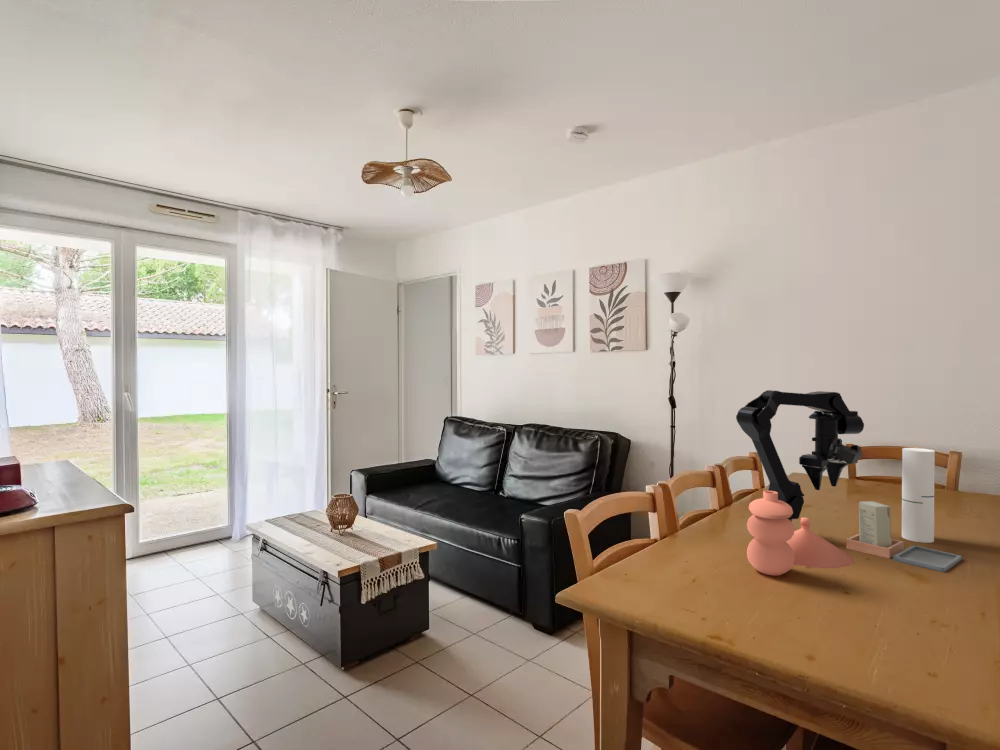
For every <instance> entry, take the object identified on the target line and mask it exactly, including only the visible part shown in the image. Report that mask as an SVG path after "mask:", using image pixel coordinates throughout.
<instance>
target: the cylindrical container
mask: <svg viewBox="0 0 1000 750" xmlns="http://www.w3.org/2000/svg"><path fill="white" fill-rule="evenodd" d="M901 450H902V451H901V453H902V455H901V456H902V457H901V460H902V461H901V465H902V466H901V470H902V471H901V538H903V539H905V540H908V541H911V542H915V543H917V542H918V543H925V544H926V543H934V542H935V472H936V471H935V469H936V468H935V465H936V463H935V458H936V457H935V454H936V453H935V452H936V451H935V450H934V449H929V448H922V447H921V448H919V447H902V449H901Z"/></svg>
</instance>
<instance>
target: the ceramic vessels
mask: <svg viewBox="0 0 1000 750" xmlns="http://www.w3.org/2000/svg"><path fill="white" fill-rule="evenodd" d="M762 493H763V494H762V498H761V497H760V498H755V499H754V500H752V501H751V502H749V505H748V510H749V512H750V513H751V514H752V515H751V516H750V517H749V518H748V520H747V523H746V528H747V530H748V532H749V534H750V535H751V536H752V537H753V538H752V540H750V541H749V544H748V545H747V549H746V557H747V560H748V562H749V564H750V565H752V567H753V568H754V569H755V570H757V571H758V572H760V573H761V574H764V575H767V576H782V575H783V574H785V573H787V572H788V571H790V570H791V569H792V568H793V566H794V565H796V566H800V567H807V568H817V569H839V568H845V567H849V566H851V565H852V564H853V563H854V558H853V557H852V556H851V555H850V554H848V553H846V552H845V551H843V550H842V549H840V548H839V547H837V546H836V545H834V544H832V543H831V542H829V541H828V540H827V539H825V538H823V537H822V536H820V535H818V533H816V532H813V530H811V518H809V517H800V528H799V529H796V530H795V527H794V524H793V521H792V522H791V521H790V520H789V519H787V518H790V517H791V515H792V514H793V510H792V507H791V506H789V505H788V504H787V503H785V502H783V501H781V500H778V492H775V491H768V490H763V492H762Z"/></svg>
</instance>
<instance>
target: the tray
mask: <svg viewBox="0 0 1000 750" xmlns="http://www.w3.org/2000/svg"><path fill="white" fill-rule="evenodd" d="M962 560H963V555H959V554H955V553H951V552H946V551H941V550H937V549H933V548H927V547H924V546H918V545H915V544H913V545H911V546H909V547H907V548H906V549H904V550H903V551H902V552H900V553H898V554H896V555H894V556H893V557H892V561H893V562H896V563H897V562H898V563H901V564H906V565H910V566H915V567H919V568H922V569H926V570H927V569H928V570H931V571H936V572H941V573H946V572H947V571H948V570H950V569H951V568H952V567H954V566H956V565H957V564H958V563H960V562H962Z"/></svg>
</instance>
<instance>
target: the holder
mask: <svg viewBox="0 0 1000 750" xmlns="http://www.w3.org/2000/svg"><path fill="white" fill-rule="evenodd" d="M845 540H846V542H845V544H846V545H845V547H846V549H848V550H851V551H857V552H860V553H864V554H869V555H873V556H878V557H882V558H886V559H891V558H893V556H894V555H896V554H898V553H900V552H902V551H903V550H905V549H904V548H905V547H904V545H905V544H904V541H902V540H899V539H894V538H893V539H892V546H890V547H888V548H885V547H881V546H877V545H872V544H868V543H864V542H860V541H859V533H857V534H855V535H853V536H850V537H848V538H846V539H845Z"/></svg>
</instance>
